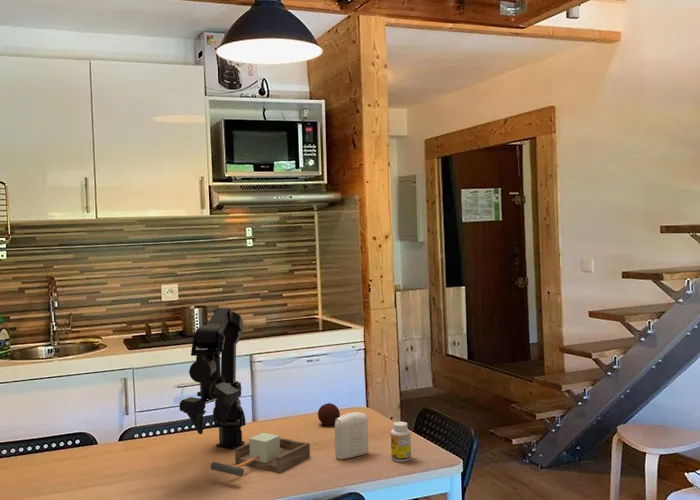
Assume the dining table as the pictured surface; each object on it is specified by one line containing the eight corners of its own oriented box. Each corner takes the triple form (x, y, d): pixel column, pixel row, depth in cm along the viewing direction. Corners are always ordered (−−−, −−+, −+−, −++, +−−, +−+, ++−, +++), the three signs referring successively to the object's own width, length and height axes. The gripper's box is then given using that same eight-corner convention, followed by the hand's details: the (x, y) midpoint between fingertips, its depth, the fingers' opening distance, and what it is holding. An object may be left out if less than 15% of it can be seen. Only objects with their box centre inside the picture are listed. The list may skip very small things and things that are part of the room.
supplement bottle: (390, 456, 195) (389, 420, 195) (409, 455, 196) (408, 420, 195) (392, 462, 190) (391, 426, 189) (412, 462, 190) (411, 426, 190)
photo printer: (362, 449, 201) (361, 408, 201) (370, 453, 198) (369, 411, 197) (333, 457, 196) (331, 414, 195) (341, 461, 192) (339, 418, 192)
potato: (316, 427, 224) (315, 406, 224) (320, 420, 232) (320, 400, 232) (337, 428, 223) (337, 407, 223) (342, 421, 231) (341, 400, 231)
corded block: (210, 474, 180) (209, 451, 180) (258, 452, 197) (257, 431, 197) (239, 480, 175) (238, 457, 175) (285, 457, 192) (285, 436, 191)
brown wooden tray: (235, 462, 193) (235, 449, 193) (267, 448, 205) (266, 435, 205) (279, 472, 184) (279, 458, 184) (309, 457, 196) (309, 443, 196)
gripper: (207, 384, 174) (210, 444, 175) (254, 368, 190) (256, 423, 191) (176, 379, 180) (179, 437, 181) (224, 364, 196) (227, 418, 197)
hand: (212, 428), depth 187 cm, fingers open, 9 cm apart
